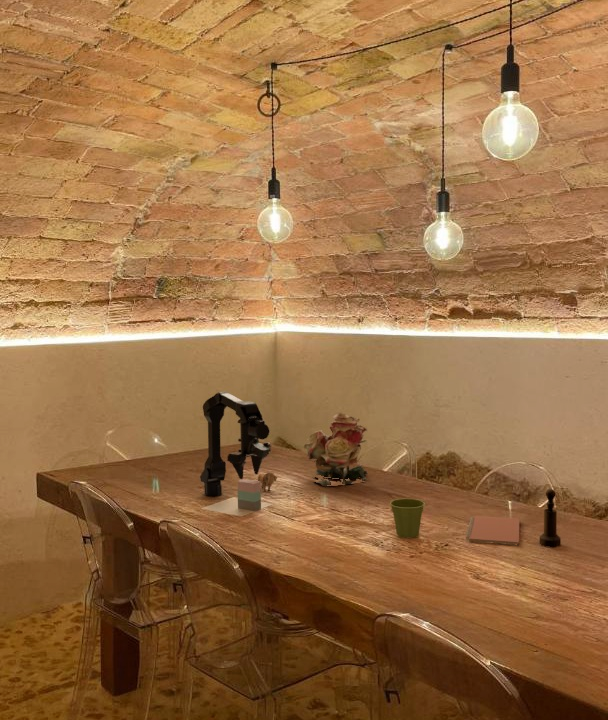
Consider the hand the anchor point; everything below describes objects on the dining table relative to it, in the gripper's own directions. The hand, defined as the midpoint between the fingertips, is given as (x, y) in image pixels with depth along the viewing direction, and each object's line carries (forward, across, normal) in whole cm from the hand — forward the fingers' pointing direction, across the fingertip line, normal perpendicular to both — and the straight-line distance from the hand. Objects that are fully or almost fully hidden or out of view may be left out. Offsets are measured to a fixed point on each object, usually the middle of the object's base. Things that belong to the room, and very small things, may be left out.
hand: (248, 476), depth 289 cm
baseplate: (+13, 0, +6) cm, 14 cm away
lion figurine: (+13, +27, +12) cm, 32 cm away
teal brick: (+9, 0, 0) cm, 9 cm away
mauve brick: (+5, 0, 0) cm, 5 cm away
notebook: (+14, +23, -88) cm, 92 cm away
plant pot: (+13, +3, -65) cm, 66 cm away
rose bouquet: (+13, +58, -4) cm, 60 cm away
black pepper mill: (+13, +19, -108) cm, 110 cm away
